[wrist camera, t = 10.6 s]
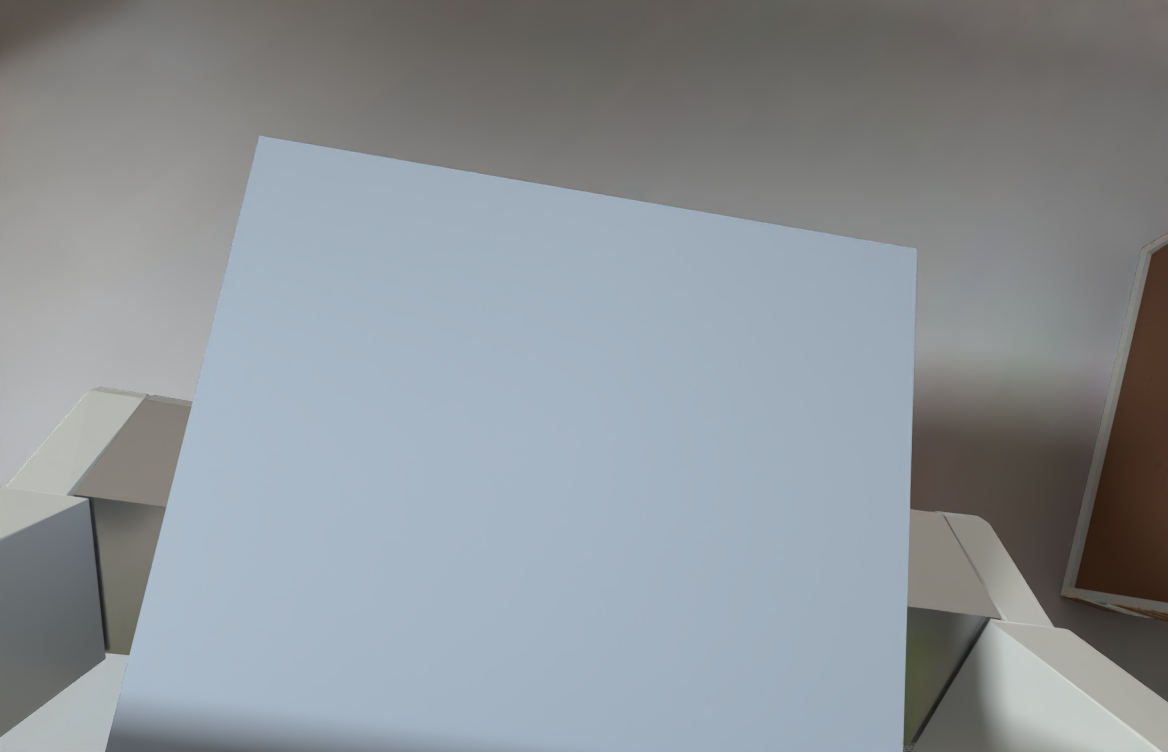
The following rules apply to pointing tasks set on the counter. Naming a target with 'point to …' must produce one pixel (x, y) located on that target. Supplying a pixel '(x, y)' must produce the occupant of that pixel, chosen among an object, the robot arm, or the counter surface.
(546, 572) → the slate-blue painted block
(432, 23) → the counter surface
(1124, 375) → the food container
